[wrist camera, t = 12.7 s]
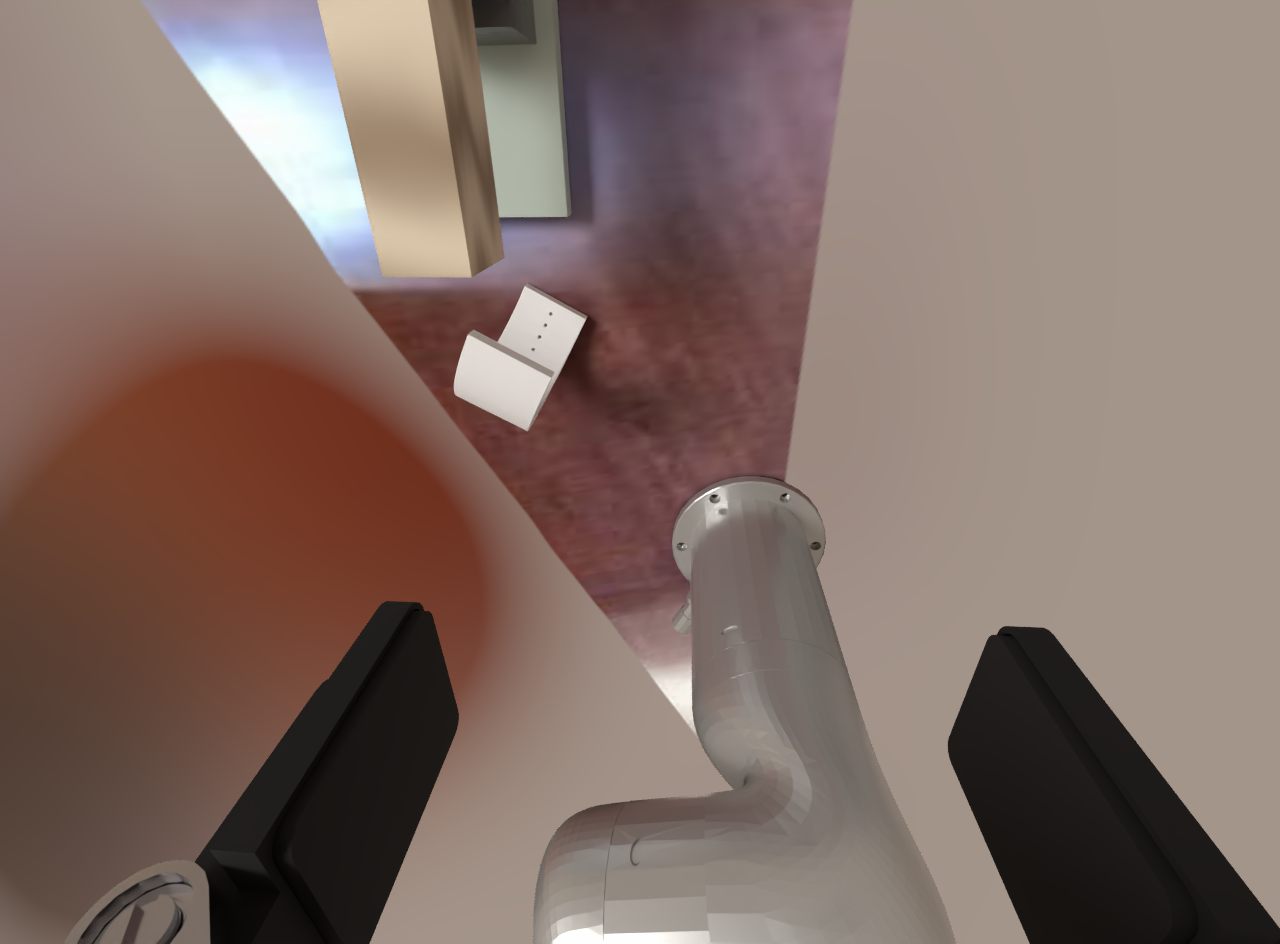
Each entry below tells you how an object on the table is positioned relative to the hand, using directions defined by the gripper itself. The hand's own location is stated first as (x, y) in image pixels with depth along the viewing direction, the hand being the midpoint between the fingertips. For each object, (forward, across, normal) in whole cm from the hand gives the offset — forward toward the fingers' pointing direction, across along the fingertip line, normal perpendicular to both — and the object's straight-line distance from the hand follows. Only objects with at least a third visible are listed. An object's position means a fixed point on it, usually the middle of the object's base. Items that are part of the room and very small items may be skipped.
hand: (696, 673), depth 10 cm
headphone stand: (+32, +11, +3) cm, 34 cm away
